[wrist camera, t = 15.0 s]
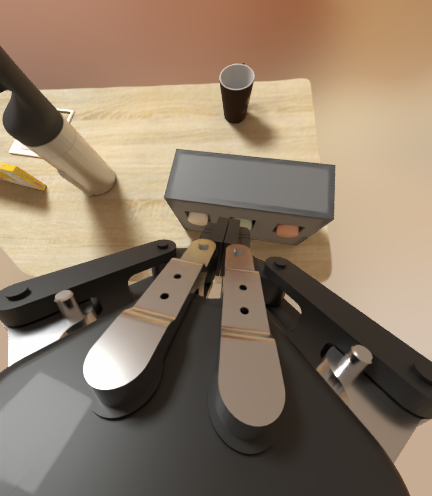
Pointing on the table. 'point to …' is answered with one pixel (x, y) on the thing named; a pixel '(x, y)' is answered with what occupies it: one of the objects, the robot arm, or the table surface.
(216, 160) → the console
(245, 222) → the sage button
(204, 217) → the cream button
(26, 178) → the candy box
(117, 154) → the table surface
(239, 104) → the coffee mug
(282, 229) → the terracotta button
